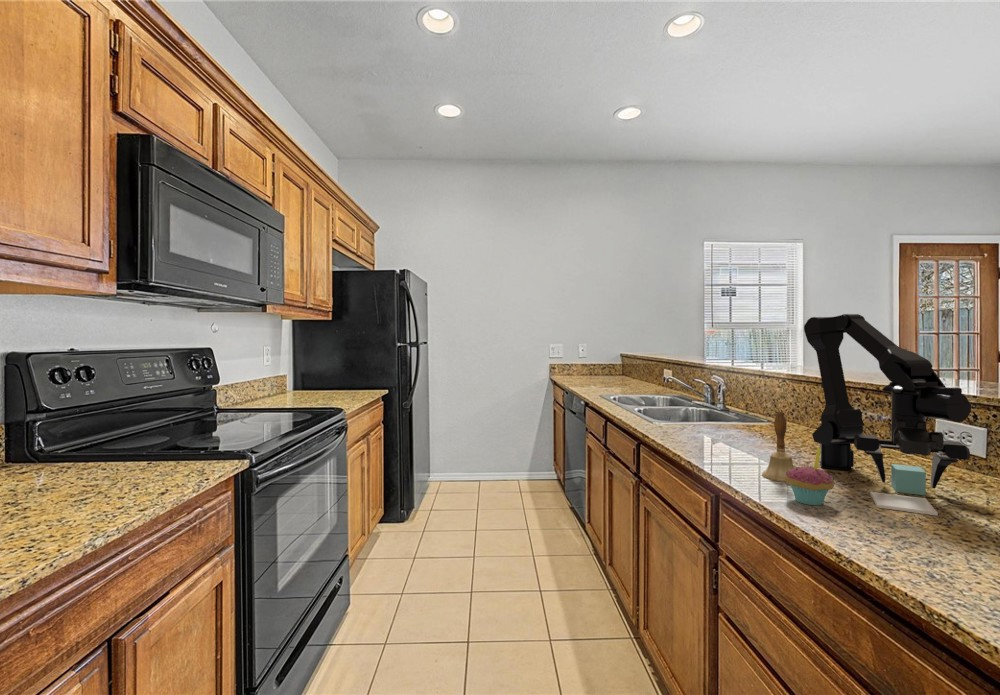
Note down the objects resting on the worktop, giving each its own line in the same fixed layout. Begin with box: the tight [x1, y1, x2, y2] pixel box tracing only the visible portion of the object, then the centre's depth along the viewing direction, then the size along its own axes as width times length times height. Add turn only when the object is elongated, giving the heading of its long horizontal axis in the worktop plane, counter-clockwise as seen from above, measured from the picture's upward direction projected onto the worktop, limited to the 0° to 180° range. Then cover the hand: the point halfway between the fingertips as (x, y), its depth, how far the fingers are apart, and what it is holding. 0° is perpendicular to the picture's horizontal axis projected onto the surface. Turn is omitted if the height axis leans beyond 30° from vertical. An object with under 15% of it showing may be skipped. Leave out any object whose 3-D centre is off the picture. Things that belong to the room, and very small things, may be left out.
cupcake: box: [784, 443, 835, 506], centre depth 98 cm, size 9×8×12 cm
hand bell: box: [761, 410, 795, 483], centre depth 115 cm, size 8×8×16 cm
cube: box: [890, 463, 927, 496], centre depth 105 cm, size 5×5×5 cm
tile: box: [869, 491, 939, 516], centre depth 96 cm, size 9×9×1 cm
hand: (907, 485), depth 105 cm, fingers open, 8 cm apart
